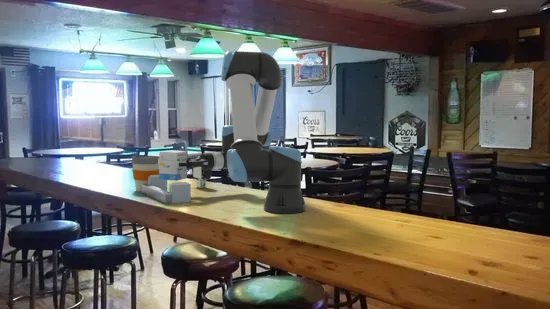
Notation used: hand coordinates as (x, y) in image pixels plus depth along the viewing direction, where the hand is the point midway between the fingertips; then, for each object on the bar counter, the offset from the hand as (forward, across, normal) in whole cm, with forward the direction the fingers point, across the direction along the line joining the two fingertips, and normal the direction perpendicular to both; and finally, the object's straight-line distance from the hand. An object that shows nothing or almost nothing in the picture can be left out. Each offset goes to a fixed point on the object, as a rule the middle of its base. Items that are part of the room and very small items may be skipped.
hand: (164, 163), depth 209 cm
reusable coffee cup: (-1, +23, -14) cm, 27 cm away
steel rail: (+4, 0, -14) cm, 14 cm away
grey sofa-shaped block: (-2, 0, -14) cm, 14 cm away
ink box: (-4, 0, -7) cm, 8 cm away
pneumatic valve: (-27, +18, -14) cm, 35 cm away
